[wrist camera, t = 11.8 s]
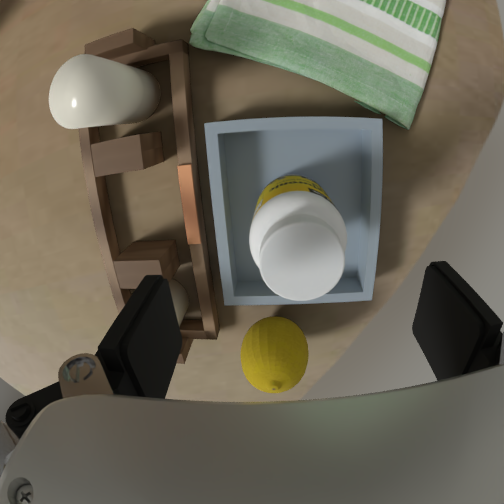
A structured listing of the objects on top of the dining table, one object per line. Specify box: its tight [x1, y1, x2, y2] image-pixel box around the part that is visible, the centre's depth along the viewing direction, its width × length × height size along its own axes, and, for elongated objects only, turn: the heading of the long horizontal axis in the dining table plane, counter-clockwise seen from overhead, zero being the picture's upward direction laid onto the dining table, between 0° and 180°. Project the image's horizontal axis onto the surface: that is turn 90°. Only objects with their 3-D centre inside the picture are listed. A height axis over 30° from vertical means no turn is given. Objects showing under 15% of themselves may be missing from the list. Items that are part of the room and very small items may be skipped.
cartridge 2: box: [169, 279, 189, 327], centre depth 24 cm, size 4×4×8 cm
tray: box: [204, 117, 383, 305], centre depth 22 cm, size 14×12×3 cm
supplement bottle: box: [249, 174, 347, 301], centre depth 18 cm, size 5×5×10 cm
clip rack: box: [79, 28, 220, 364], centre depth 22 cm, size 27×9×4 cm, turn 4°
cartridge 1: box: [49, 54, 160, 129], centre depth 17 cm, size 4×4×8 cm
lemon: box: [241, 316, 308, 393], centre depth 24 cm, size 6×6×8 cm
